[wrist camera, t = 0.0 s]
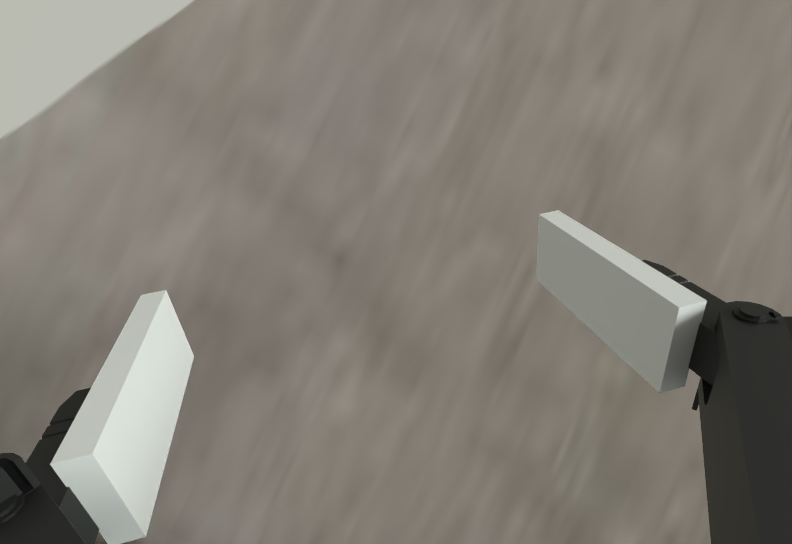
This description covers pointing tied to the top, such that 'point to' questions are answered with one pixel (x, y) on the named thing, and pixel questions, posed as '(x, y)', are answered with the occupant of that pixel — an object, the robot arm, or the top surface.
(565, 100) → the top surface
